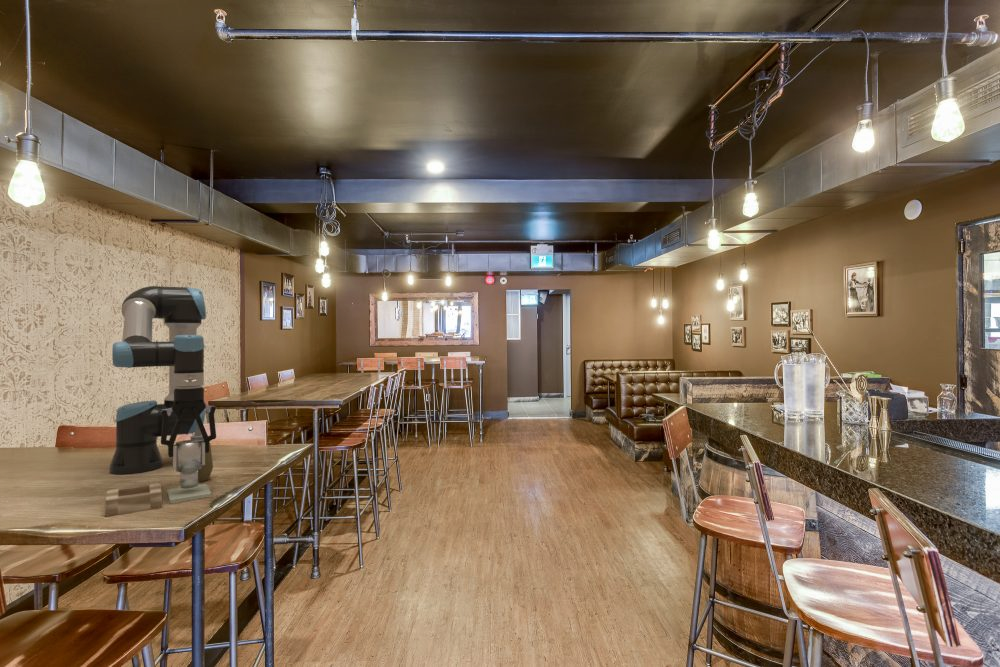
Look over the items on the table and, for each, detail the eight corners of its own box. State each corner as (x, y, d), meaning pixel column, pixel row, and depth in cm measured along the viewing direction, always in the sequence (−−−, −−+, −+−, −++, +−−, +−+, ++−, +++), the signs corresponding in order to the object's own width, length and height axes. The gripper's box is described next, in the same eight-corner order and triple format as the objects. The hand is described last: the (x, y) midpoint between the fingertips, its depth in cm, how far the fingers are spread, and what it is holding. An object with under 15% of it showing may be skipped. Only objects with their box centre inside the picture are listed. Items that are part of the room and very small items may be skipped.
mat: (167, 493, 149) (167, 489, 149) (206, 486, 155) (206, 483, 155) (169, 503, 139) (169, 500, 139) (211, 496, 145) (211, 493, 145)
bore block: (107, 504, 139) (107, 489, 139) (159, 496, 146) (159, 482, 146) (105, 516, 129) (105, 501, 129) (161, 507, 136) (161, 492, 136)
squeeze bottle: (178, 481, 161) (178, 425, 161) (203, 475, 168) (203, 421, 168) (193, 485, 157) (193, 427, 157) (218, 478, 164) (218, 423, 164)
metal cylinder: (175, 485, 148) (175, 441, 148) (200, 481, 152) (200, 438, 152) (176, 491, 142) (176, 445, 143) (203, 486, 146) (203, 442, 146)
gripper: (149, 390, 139) (149, 474, 138) (228, 386, 150) (228, 463, 150) (148, 388, 145) (148, 468, 144) (224, 384, 156) (224, 458, 156)
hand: (189, 465), depth 147 cm, fingers closed on metal cylinder, 6 cm apart
